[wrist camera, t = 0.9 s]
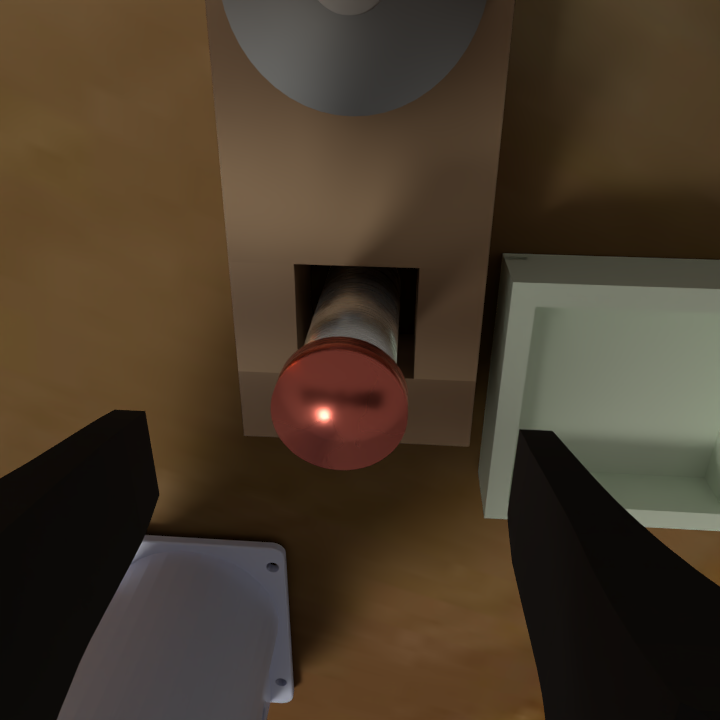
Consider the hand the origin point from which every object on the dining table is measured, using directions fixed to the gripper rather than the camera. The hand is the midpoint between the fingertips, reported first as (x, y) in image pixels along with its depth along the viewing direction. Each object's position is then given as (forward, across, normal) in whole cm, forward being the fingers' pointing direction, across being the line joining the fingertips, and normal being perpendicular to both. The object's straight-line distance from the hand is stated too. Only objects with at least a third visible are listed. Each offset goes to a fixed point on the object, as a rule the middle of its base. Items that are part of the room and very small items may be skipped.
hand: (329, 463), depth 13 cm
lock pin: (+10, 0, 0) cm, 10 cm away
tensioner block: (+10, 0, -4) cm, 10 cm away
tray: (+10, -8, +3) cm, 13 cm away
